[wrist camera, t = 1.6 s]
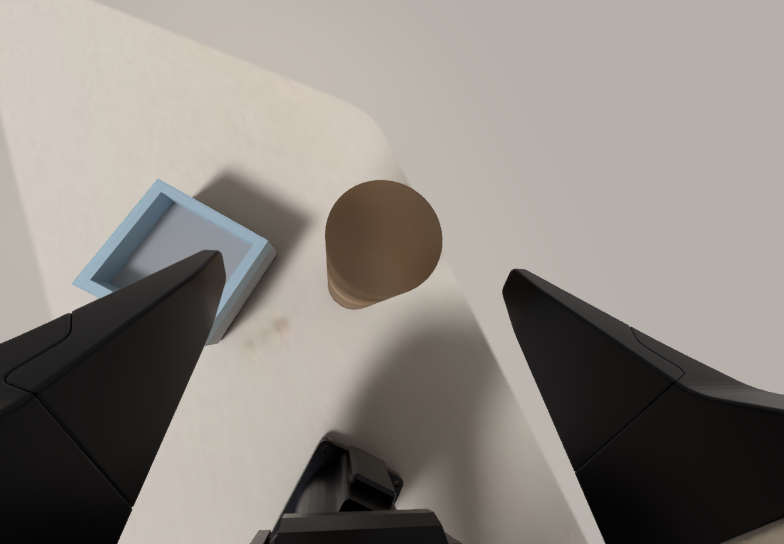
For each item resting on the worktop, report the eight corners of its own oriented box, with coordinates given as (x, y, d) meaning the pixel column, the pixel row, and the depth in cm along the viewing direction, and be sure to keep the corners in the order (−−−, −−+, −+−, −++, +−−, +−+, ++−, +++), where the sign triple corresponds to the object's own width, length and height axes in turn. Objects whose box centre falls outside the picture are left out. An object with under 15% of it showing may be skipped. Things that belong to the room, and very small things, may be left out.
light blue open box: (218, 343, 20) (195, 347, 17) (115, 290, 20) (71, 283, 16) (277, 252, 22) (268, 240, 19) (185, 200, 21) (158, 178, 18)
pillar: (365, 319, 23) (410, 317, 10) (317, 292, 22) (301, 256, 10) (390, 273, 24) (460, 218, 11) (345, 246, 23) (363, 158, 11)
